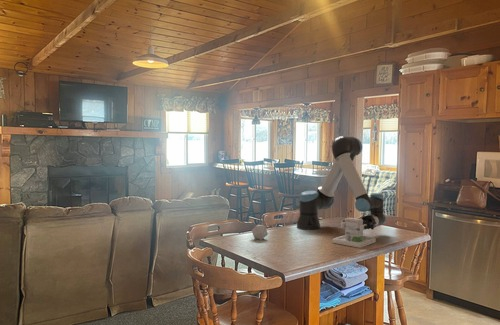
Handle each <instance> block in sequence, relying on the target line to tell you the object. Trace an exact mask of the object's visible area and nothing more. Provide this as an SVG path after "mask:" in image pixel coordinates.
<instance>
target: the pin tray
mask: <svg viewBox="0 0 500 325" xmlns="http://www.w3.org/2000/svg"><path fill="white" fill-rule="evenodd" d="M376 241H377V239H376V237H371V236H366V235H363V241H360V242H357V241H352V240H351V235H348V240H346V239H345V234H344V235H341V236H336V237H334V238H332V243H333V244H338V245H342V246H343V245H344V246H348V247H354V248H364V247H366V246H369V245H372V244H374V243H376Z"/></svg>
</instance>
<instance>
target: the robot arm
mask: <svg viewBox="0 0 500 325" xmlns="http://www.w3.org/2000/svg"><path fill="white" fill-rule="evenodd" d="M362 151H363V144H362V141H361V140H360V139H359V138H358V137H354V136H343V135H340V136H337V137H336V138H335V139H334V140H333V141H332V143H331V153H332V155H333V158H334V161H333V164H332V165H331V167H330V170H329V171H328V174H327V175H326V177H325V179H324V181H323V183H322V185H321V186H319V187H318V188H317V190H306V191H303V192H301V193H300V194H299V216H298V218H297V222H296V228H298V229H302V230H318V229H320V228H321V222H320V219H319V217H318V215H319V214H318V213H319V212H318V211H321V210H327V209H330V208H331V207H332V206H334V204H335V195H336V194H335V190H336V188H337V187H338V184H339V183H340V181H341V179H342V177H343V175H344V177H345V180H346V182H347V183H348V186H349V188H350V191H351V192H352V195H353V197H354V199H355V203H354V207H355V209H356V210H357V211H358V212H360V213H361V212H364V213H366V212H370V213H369V214H368V215H364V216H362V218H360V219H363V225H360V231H362V230H363V231H366V230H374V229H375V228H376V227H380V226H382V225H384V224H385V223H386V222H387V217H386V215H385V214H384V201H385V200H384V194H383V193H379V192H378V193H377V192H373V193H370V195H369V194H368V192H367V190H366V187H365V186H364V183H363V182H362V179H361V177H360V175H359V173H358V171H357V168H356V167H355V164H354V163H353V161H354V159H355V157H356V156H358V155H360V154H361V152H362ZM343 228H345V219H344V220H342V222H340V229H343Z"/></svg>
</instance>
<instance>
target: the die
mask: <svg viewBox="0 0 500 325" xmlns="http://www.w3.org/2000/svg"><path fill="white" fill-rule="evenodd" d="M251 232H252V235H253V238H254V240H259V241H263V240H264V239H265V237H267V236H268V235H269V233H268V230H267V228H266V225H262V224H257V225H255V227H253V228H252V229H251Z"/></svg>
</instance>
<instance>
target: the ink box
mask: <svg viewBox="0 0 500 325" xmlns="http://www.w3.org/2000/svg"><path fill="white" fill-rule="evenodd" d="M344 220H345V227H344V228H345V229H344V232H345V234H344V235H345V239H346V240H348V235H351V240H352V241H357V242H360V241H363V236H364V230H362V231H360V225H363V219H361V218H355V217H345V218H344Z"/></svg>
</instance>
